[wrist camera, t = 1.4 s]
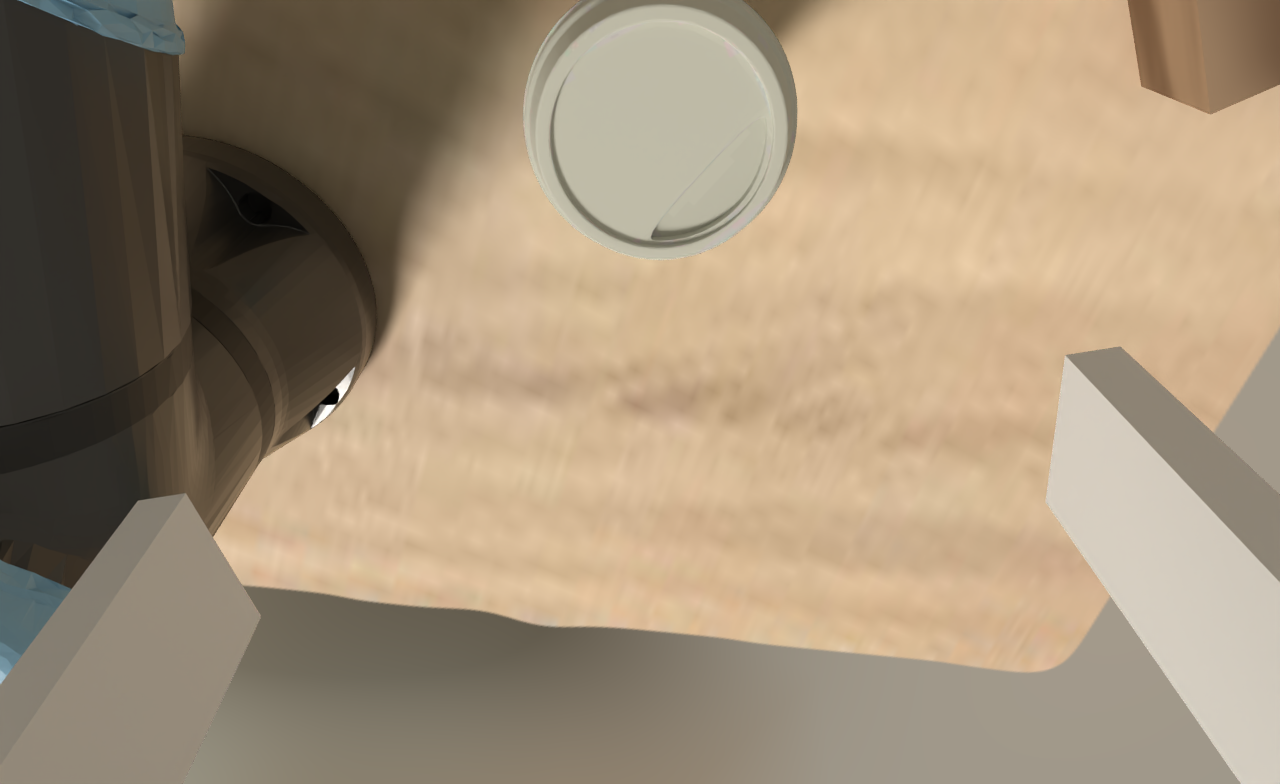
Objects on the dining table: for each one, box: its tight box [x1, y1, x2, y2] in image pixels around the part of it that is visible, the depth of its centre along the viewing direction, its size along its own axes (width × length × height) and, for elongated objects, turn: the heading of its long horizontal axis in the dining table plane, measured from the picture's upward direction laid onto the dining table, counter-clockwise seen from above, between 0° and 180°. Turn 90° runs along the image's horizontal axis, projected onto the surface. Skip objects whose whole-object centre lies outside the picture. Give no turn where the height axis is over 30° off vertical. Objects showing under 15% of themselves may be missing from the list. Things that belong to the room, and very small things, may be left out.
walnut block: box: [1128, 0, 1280, 114], centre depth 31 cm, size 5×5×5 cm
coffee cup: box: [523, 0, 797, 260], centre depth 29 cm, size 9×8×12 cm
